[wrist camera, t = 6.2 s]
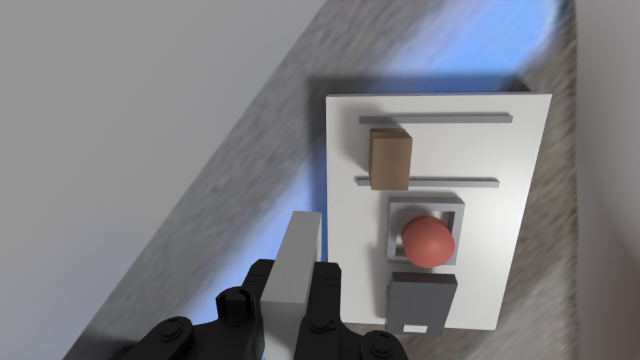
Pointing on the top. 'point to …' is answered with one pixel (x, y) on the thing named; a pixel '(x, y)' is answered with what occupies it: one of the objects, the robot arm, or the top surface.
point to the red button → (427, 242)
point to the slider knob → (390, 159)
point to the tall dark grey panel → (419, 303)
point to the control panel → (432, 193)
